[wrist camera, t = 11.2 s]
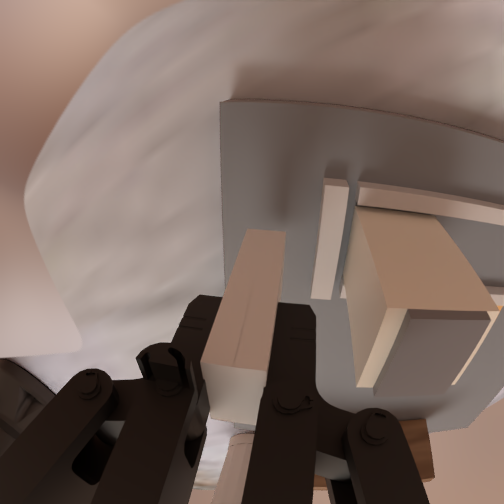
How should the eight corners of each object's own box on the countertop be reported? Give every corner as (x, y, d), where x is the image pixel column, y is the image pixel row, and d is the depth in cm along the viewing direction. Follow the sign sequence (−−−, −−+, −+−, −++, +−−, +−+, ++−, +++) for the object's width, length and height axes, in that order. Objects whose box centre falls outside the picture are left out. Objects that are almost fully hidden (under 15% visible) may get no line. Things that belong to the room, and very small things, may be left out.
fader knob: (342, 273, 15) (356, 396, 9) (354, 206, 13) (390, 317, 7) (415, 278, 15) (457, 392, 9) (434, 215, 13) (504, 319, 7)
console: (238, 410, 27) (217, 505, 19) (229, 99, 14) (118, 138, 5) (463, 412, 24) (479, 492, 16) (585, 175, 11) (677, 249, 2)
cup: (296, 434, 29) (284, 538, 18) (288, 459, 33) (277, 544, 23) (220, 425, 30) (195, 526, 19) (225, 452, 34) (205, 534, 24)
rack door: (298, 421, 23) (292, 486, 18) (425, 418, 22) (434, 477, 16) (296, 433, 24) (290, 493, 19) (416, 431, 23) (422, 486, 18)
